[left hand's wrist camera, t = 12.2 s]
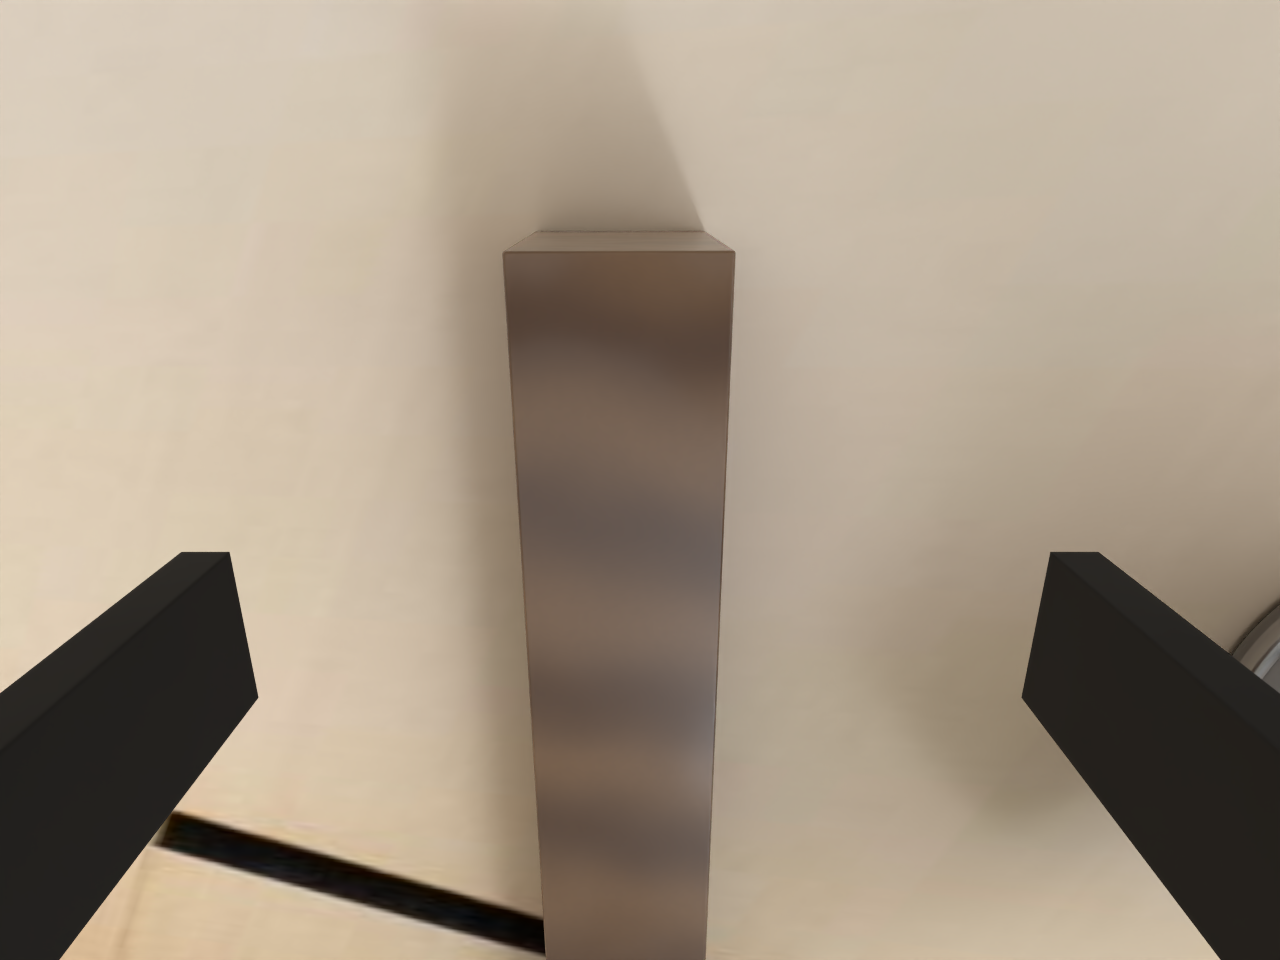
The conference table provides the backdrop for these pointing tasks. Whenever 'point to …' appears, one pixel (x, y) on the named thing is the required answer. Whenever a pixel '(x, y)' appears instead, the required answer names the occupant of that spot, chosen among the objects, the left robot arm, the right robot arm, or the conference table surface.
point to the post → (622, 573)
